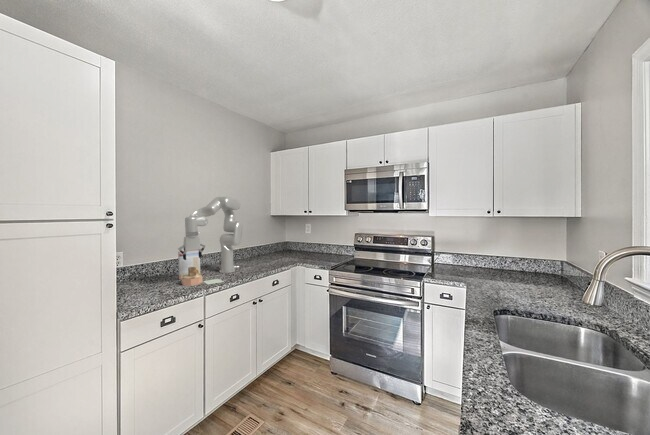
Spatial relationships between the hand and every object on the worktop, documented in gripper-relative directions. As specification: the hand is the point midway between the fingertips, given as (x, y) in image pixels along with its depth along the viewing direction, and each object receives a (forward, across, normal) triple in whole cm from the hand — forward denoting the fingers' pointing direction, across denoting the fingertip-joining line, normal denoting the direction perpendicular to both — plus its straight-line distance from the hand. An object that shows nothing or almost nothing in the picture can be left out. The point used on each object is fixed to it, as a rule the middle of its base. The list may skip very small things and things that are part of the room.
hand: (192, 258), depth 186 cm
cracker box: (+18, -2, -17) cm, 25 cm away
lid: (+12, +1, +1) cm, 13 cm away
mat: (+18, -11, +6) cm, 22 cm away
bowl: (+18, +1, +1) cm, 18 cm away
